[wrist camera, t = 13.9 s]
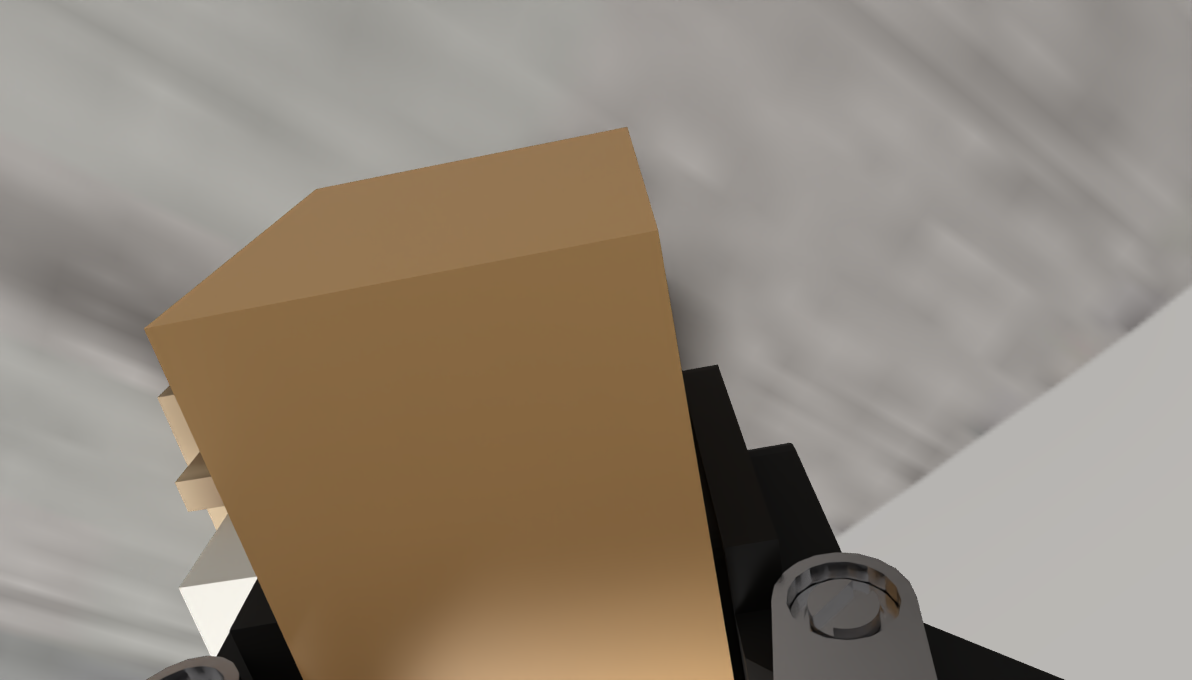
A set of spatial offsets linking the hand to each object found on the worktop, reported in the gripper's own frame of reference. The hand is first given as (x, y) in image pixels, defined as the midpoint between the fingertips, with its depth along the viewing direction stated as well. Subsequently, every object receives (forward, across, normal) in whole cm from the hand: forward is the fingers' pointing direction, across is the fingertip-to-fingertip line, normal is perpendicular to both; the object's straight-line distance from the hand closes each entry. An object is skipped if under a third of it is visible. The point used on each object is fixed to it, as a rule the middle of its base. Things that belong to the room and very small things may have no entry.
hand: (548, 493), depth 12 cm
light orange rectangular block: (0, 0, 0) cm, 1 cm away
